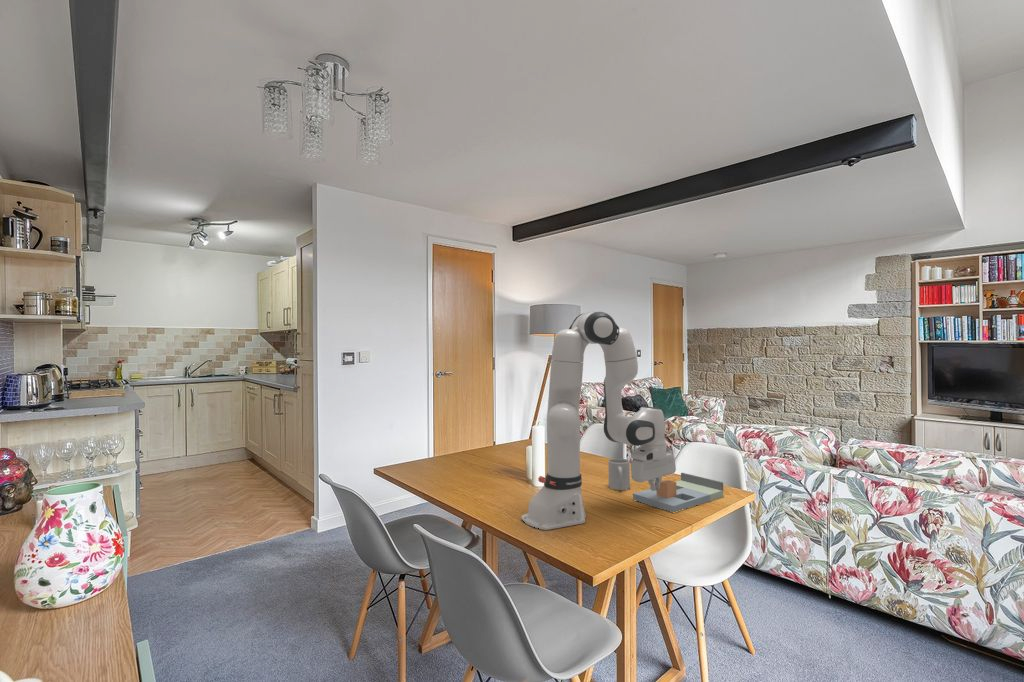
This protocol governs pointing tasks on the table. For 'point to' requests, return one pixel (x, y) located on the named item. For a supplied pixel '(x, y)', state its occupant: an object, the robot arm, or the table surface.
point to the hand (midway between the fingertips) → (655, 489)
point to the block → (667, 489)
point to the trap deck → (684, 493)
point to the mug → (619, 474)
